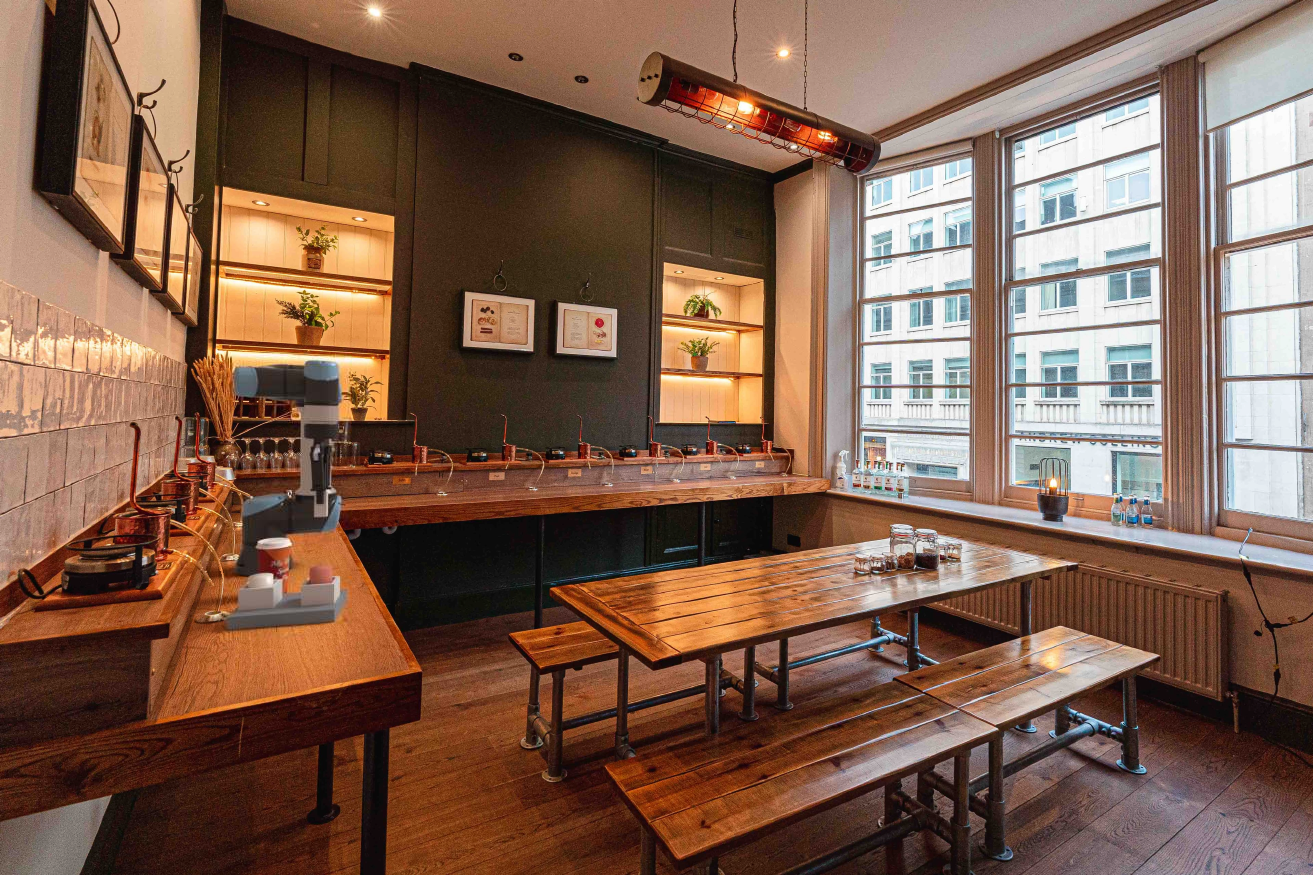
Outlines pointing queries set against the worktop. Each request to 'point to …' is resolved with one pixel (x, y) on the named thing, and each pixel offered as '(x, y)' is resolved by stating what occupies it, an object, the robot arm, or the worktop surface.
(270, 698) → the worktop surface
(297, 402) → the robot arm
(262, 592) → the board
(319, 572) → the red plug
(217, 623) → the worktop surface
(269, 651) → the worktop surface
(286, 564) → the coffee cup
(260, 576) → the plug
